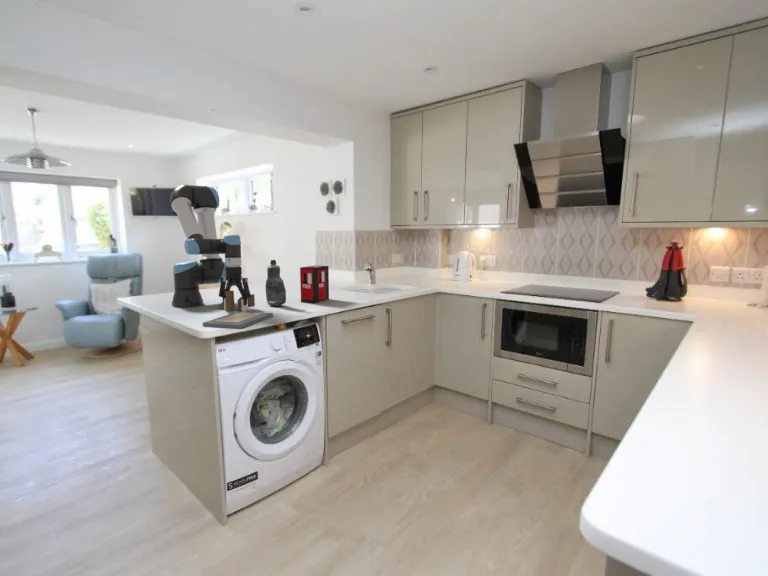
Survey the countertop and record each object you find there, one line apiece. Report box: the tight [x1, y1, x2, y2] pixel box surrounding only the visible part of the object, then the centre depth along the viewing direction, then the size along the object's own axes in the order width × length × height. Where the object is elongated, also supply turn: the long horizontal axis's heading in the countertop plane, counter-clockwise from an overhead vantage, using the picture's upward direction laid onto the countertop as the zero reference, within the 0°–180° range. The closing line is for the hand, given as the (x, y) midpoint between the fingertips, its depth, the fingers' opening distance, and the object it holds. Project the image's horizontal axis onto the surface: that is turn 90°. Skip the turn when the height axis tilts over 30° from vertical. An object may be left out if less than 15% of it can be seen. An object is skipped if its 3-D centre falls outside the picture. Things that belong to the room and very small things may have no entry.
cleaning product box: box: [299, 265, 330, 304], centre depth 232 cm, size 16×9×20 cm, turn 159°
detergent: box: [265, 259, 287, 307], centre depth 214 cm, size 13×7×25 cm, turn 67°
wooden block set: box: [217, 290, 256, 312], centre depth 202 cm, size 18×9×10 cm, turn 99°
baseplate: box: [202, 310, 274, 330], centre depth 177 cm, size 18×26×2 cm
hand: (235, 311), depth 199 cm, fingers open, 9 cm apart
